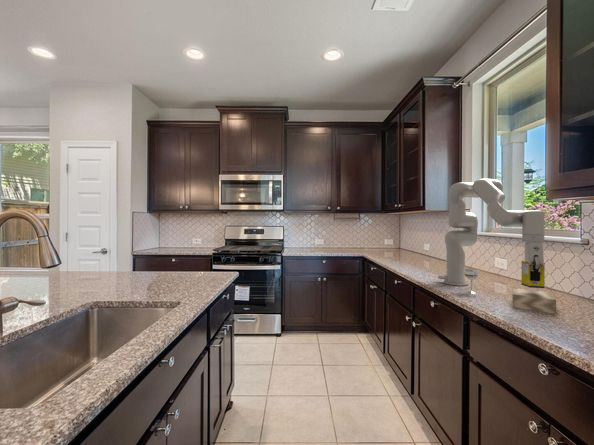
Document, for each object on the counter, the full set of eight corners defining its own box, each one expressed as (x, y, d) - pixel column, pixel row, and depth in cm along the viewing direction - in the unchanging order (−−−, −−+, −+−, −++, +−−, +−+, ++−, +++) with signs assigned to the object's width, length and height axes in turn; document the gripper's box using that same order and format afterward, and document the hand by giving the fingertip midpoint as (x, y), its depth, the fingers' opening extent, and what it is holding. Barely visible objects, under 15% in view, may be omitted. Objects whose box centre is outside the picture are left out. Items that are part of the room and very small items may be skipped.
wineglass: (482, 293, 146) (482, 270, 146) (472, 294, 144) (472, 271, 144) (470, 290, 153) (470, 268, 153) (460, 291, 151) (461, 268, 151)
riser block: (512, 308, 124) (512, 294, 124) (512, 300, 135) (512, 288, 135) (556, 314, 115) (556, 299, 115) (551, 306, 126) (552, 292, 126)
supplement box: (545, 288, 121) (545, 262, 121) (528, 287, 123) (529, 262, 123) (536, 285, 127) (536, 260, 127) (521, 284, 128) (521, 260, 128)
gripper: (550, 240, 115) (550, 284, 116) (538, 237, 131) (538, 276, 131) (526, 239, 119) (526, 282, 119) (518, 237, 134) (517, 275, 134)
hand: (532, 278), depth 125 cm, fingers closed on supplement box, 7 cm apart
